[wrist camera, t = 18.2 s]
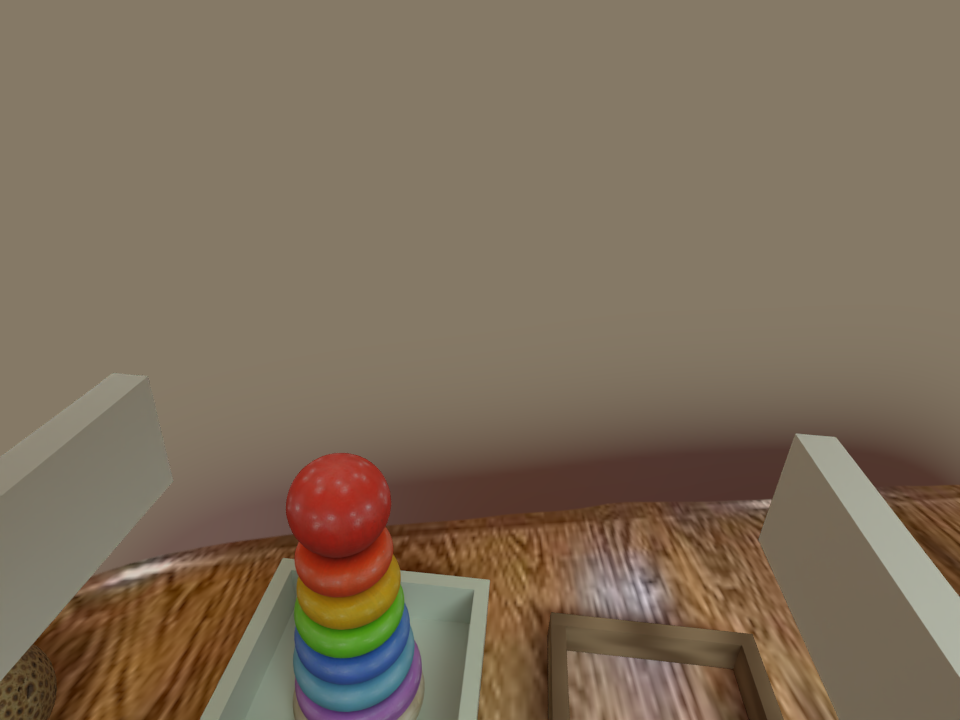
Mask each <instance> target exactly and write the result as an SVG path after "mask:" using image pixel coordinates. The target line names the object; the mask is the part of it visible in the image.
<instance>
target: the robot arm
mask: <svg viewBox="0 0 960 720" xmlns="http://www.w3.org/2000/svg"><path fill="white" fill-rule="evenodd" d="M172 482H173V478H172V474H171V470H170V466H169V462H168V458H167V453H166V449H165V445H164V441H163V437H162V432H161V428H160V424H159V420H158V416H157V412H156V407H155V403H154V399H153V395H152V390H151V387H150V382H149V378H148V376H140V375H129V374H117V373H112V374H111V375H110V376H108V377H107V378H105V379H104V380H103V381H102V382H100V383H99V384H97V385H96V386H95V387H93V388H92V389H91V390H89V391H88V392H87V393H85V394H84V395H83V396H81V397H80V398H78V399H77V400H76V401H75V402H73V403H72V404H71V405H69V406H68V407H67V408H65V409H64V410H62V411H61V412H60V413H58V414H57V415H56V416H54V417H53V418H52V419H50V420H49V421H47V422H46V423H45V424H43V425H42V426H41V427H40V428H38V429H37V430H35V431H34V432H33V433H32V434H30V435H29V436H27V437H26V438H25V439H23V440H22V441H21V442H19V443H18V444H16V445H15V446H14V447H12V448H11V449H10V450H8V451H7V452H6V453H5V454H3V455H2V456H0V681H1V680H2V679H3V678H4V677H5V675H6V674H7V673H8V672H9V671H10V670H11V668H12V667H13V666H14V665H15V664H16V663H17V662H18V660H19V659H20V658H21V657H22V656H23V655H24V653H25V652H26V651H27V650H28V649H29V648H30V646H31V645H32V644H33V643H34V642H35V641H36V640H37V638H38V637H39V636H40V635H41V634H42V633H43V631H44V630H45V629H46V628H47V627H48V626H49V625H50V623H51V622H52V621H53V620H54V619H55V618H56V616H57V615H58V614H59V613H60V612H61V611H62V609H63V608H64V607H65V606H66V605H67V604H68V603H69V601H70V600H71V599H72V598H73V597H74V596H75V594H76V593H77V592H78V591H79V590H80V589H81V587H82V586H83V585H84V584H85V583H86V582H87V581H88V579H89V578H90V577H91V576H92V575H93V574H94V572H95V571H96V570H97V569H98V568H99V567H100V565H101V564H102V563H103V562H104V561H105V559H107V557H108V556H109V555H110V554H111V553H112V552H113V550H114V549H115V548H116V547H117V546H118V545H119V544H120V542H121V541H122V540H123V539H124V538H125V537H126V535H127V534H128V533H129V532H130V531H131V530H132V528H133V527H134V526H135V525H136V524H137V523H138V521H139V520H140V519H141V518H142V517H143V516H144V515H145V513H146V512H147V511H148V510H149V508H151V506H152V505H153V504H154V503H155V502H156V501H157V499H158V498H159V497H160V496H161V495H162V494H163V493H164V491H165V490H166V489H167V488H168V487H169V486H170V484H171V483H172ZM758 540H759V542H760V544H761V547H762V549H763V551H764V553H765V555H766V558H767V560H768V562H769V564H770V567H771V569H772V571H773V573H774V575H775V578H776V580H777V582H778V584H779V587H780V589H781V591H782V593H783V595H784V598H785V600H786V602H787V604H788V607H789V609H790V611H791V613H792V615H793V618H794V620H795V622H796V624H797V627H798V629H799V631H800V633H801V636H802V638H803V640H804V642H805V644H806V647H807V649H808V651H809V653H810V656H811V658H812V660H813V662H814V664H815V667H816V669H817V671H818V673H819V676H820V678H821V680H822V682H823V684H824V687H825V689H826V691H827V693H828V696H829V698H830V700H831V702H832V704H833V707H834V709H835V711H836V713H837V716H838V718H839V720H960V597H959V596H958V594H957V593H956V592H955V591H954V589H953V588H952V587H951V585H950V584H949V583H948V582H947V580H946V579H945V578H944V576H943V575H942V574H941V572H940V571H939V570H938V569H937V567H936V566H935V565H934V563H933V562H932V561H931V560H930V558H929V557H928V556H927V554H926V553H925V552H924V550H923V549H922V548H921V547H920V545H919V544H918V543H917V541H916V540H915V539H914V538H913V536H912V535H911V534H910V532H909V531H908V530H907V529H906V527H905V526H904V525H903V523H902V522H901V521H900V519H899V518H898V517H897V516H896V514H895V513H894V512H893V510H892V509H891V508H890V507H889V505H888V504H887V503H886V501H885V500H884V499H883V497H882V496H881V495H880V494H879V492H878V491H877V490H876V488H875V487H874V486H873V485H872V483H871V482H870V481H869V479H868V478H867V477H866V476H865V474H864V473H863V472H862V471H861V469H860V468H859V467H858V465H857V464H856V463H855V461H854V460H853V459H852V457H851V456H850V455H849V454H848V453H847V451H846V450H845V448H844V447H843V446H842V445H841V443H840V442H839V441H838V439H837V438H836V437H827V436H817V435H806V434H805V435H804V434H795V436H794V439H793V442H792V445H791V448H790V450H789V453H788V456H787V459H786V462H785V465H784V468H783V470H782V473H781V476H780V479H779V482H778V485H777V488H776V490H775V494H774V496H773V499H772V502H771V505H770V508H769V510H768V513H767V516H766V519H765V522H764V525H763V527H762V530H761V533H760V536H759V539H758Z"/></svg>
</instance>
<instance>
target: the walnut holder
mask: <svg viewBox="0 0 960 720" xmlns="http://www.w3.org/2000/svg"><path fill="white" fill-rule="evenodd" d="M547 643H548V720H570V717H569V694H568V671H567V650H568V651H577V652H586V653H595V654H604V655H613V656H622V657H631V658H640V659H649V660H658V661H667V662H675V663H684V664H693V665H702V666H711V667H720V668H729V669H733V670H734V673H735V676H736V680H737V683H738V686H739V689H740V692H741V696H742V699H743V702H744V705H745V708H746V712H747V715H748V718H749V720H784V719H783V716H782V714H781V711H780V708H779V706H778V703H777V700H776V697H775V695H774V692H773V689H772V686H771V684H770V681H769V678H768V675H767V673H766V670H765V667H764V665H763V662H762V659H761V656H760V654H759V651H758V648H757V645H756V643H755V640H754V637H753V634H746V633H737V632H728V631H718V630H709V629H700V628H691V627H682V626H672V625H663V624H654V623H645V622H636V621H626V620H617V619H608V618H599V617H590V616H580V615H571V614H562V613H553V612H551V615H550V622H549V629H548V635H547Z"/></svg>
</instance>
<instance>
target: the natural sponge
mask: <svg viewBox="0 0 960 720" xmlns="http://www.w3.org/2000/svg"><path fill="white" fill-rule="evenodd" d="M56 684H57V682H56V676H55V671H54V669H53V666H52V663H51V661H50V660H49V658H48V657H47V655H46V654H45V653H44V652H43V651H42V650H41V649H40V648H38V647H37V646H36V645H34V644H32V645H31V646H30V648H29V649H28V650H27V651H26V652H25V653H24V655H23V656H22V657H21V658H20V659H19V660H18V662H17V663H16V664H15V665H14V666H13V667H12V668H11V670H10V671H9V672H8V673H7V674H6V675H5V677H4V678H3V679H2V680H1V681H0V720H47V719H48V718H49V716H50V714H51V711H52V708H53V706H54V703H55V699H56V690H57V687H56Z"/></svg>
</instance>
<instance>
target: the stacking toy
mask: <svg viewBox="0 0 960 720" xmlns="http://www.w3.org/2000/svg"><path fill="white" fill-rule="evenodd" d="M390 509H391V496H390V490H389V487H388V485H387V482H386V480H385V478H384V476H383V475H382V473H381V471H380V470H379V469H378V468H377V467H376V466H375V465H373V464H372V463H371V462H370V461H368V460H367V459H365V458H362V457H360V456H357V455H354V454H349V453H333V454H329V455H325V456H322V457H320V458H318V459H316V460H314V461H312V462H311V463H309V464H308V465H307V466H305V467H304V468H303V469H302V470H301V471H300V472H299V474H298V475H297V476H296V477H295V479H294V481H293V483H292V485H291V487H290V489H289V492H288V496H287V502H286V515H287V519H288V523H289V526H290V528H291V530H292V533H293V534H294V536H295V537H296V539H297V540H298V541H299V542H298V545H297V547H296V551H295V560H294V561H295V567H296V571H297V574H298V579H297V586H296V590H297V598H296V602H295V607H294V620H295V625H296V626H295V632H294V641H295V648H294V654H293V668H294V674H295V690H294V695H293V713H294V718H295V720H416V719H417V717H418V715H419V712H420V710H421V707H422V704H423V699H424V691H425V682H424V676H423V671H422V661H421V655H420V651H419V648H418V646H417V644H416V642H415V640H414V635H413V631H412V628H411V626H410V618H409V613H408V609H407V606H406V604H405V602H404V593H403V589H402V586H401V584H400V582H401V573H400V567H399V564H398V562H397V560H396V558H395V556H394V555H393V542H392V538H391V535H390V533H389V531H388V530H387V528H386V527H385V526H386V523H387V521H388V517H389V515H390Z"/></svg>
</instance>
